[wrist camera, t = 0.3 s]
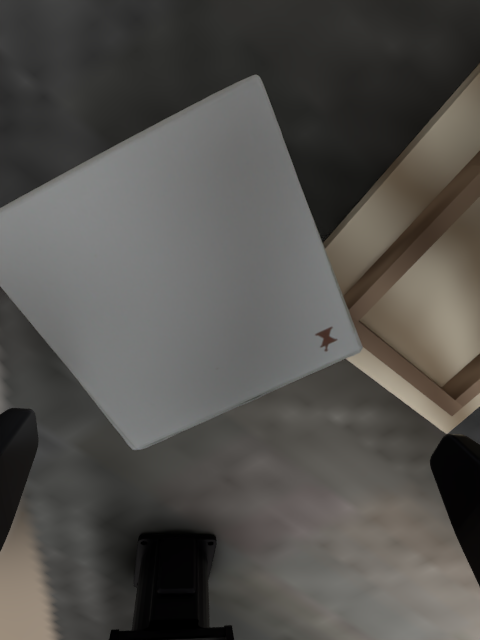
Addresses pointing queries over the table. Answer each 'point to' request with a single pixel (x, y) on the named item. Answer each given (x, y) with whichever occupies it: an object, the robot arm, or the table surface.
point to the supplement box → (179, 269)
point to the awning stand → (420, 266)
